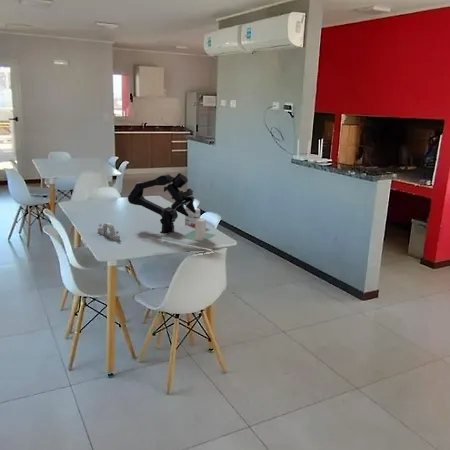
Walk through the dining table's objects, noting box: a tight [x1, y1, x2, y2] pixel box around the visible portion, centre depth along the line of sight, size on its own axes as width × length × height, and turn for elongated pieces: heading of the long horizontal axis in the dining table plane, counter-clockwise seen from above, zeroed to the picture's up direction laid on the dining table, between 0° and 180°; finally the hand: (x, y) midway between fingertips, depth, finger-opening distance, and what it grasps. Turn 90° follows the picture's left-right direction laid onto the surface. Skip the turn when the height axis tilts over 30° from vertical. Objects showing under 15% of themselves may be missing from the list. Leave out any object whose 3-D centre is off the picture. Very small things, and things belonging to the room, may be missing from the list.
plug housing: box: [194, 218, 207, 242], centre depth 263 cm, size 4×6×11 cm, turn 157°
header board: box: [179, 230, 216, 243], centre depth 269 cm, size 15×17×3 cm
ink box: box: [184, 206, 201, 227], centre depth 292 cm, size 8×5×12 cm, turn 55°
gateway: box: [97, 222, 121, 242], centre depth 260 cm, size 20×2×8 cm, turn 45°
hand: (191, 214), depth 266 cm, fingers open, 9 cm apart
